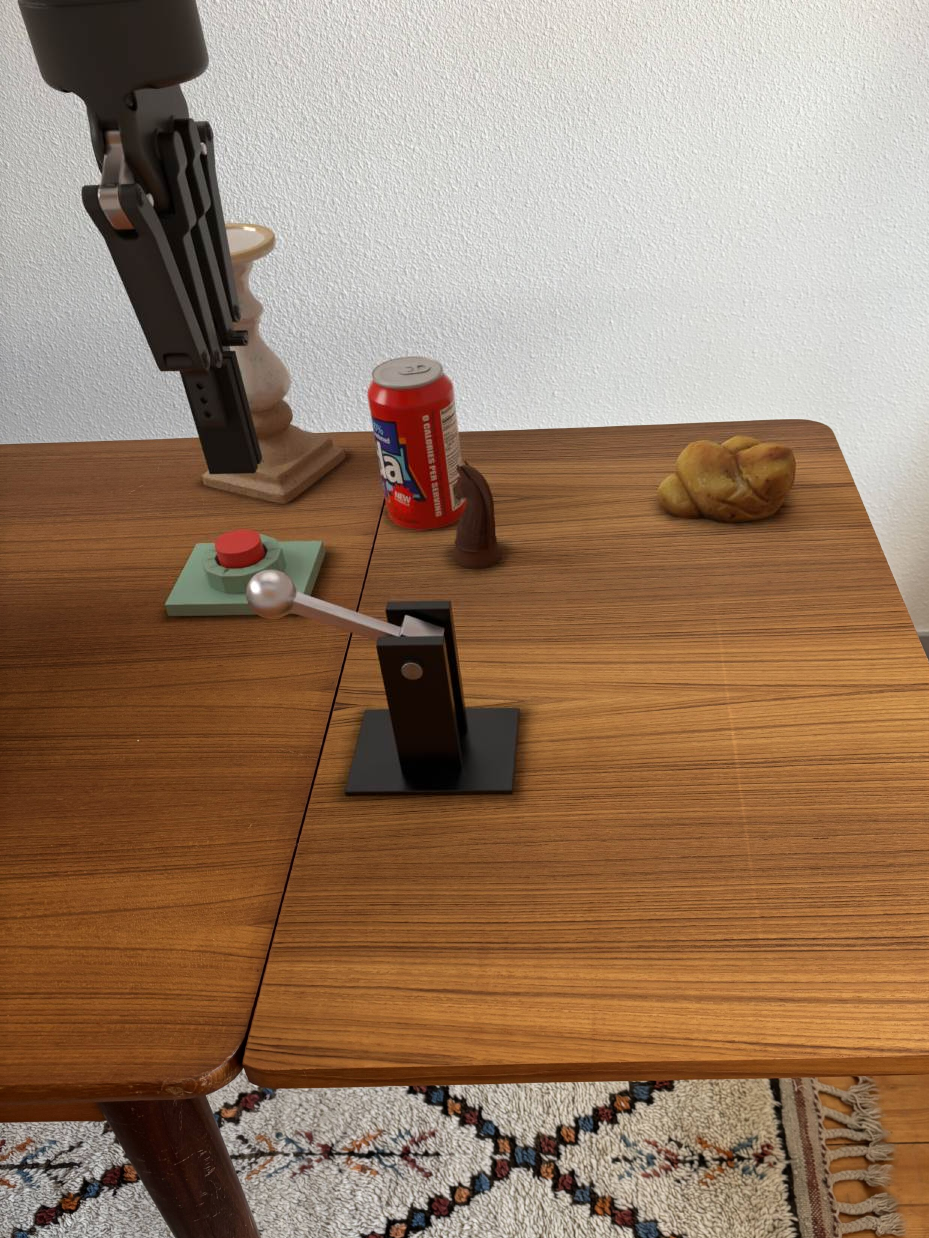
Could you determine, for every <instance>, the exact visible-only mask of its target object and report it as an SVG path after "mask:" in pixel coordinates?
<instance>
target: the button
mask: <svg viewBox="0 0 929 1238" xmlns="http://www.w3.org/2000/svg"><path fill="white" fill-rule="evenodd" d="M259 534H260V533H258V532H257V531H256V530H252V529H245V528H243V529H235V530H230V531H228V532H226V533H224V534H222V535H220V536H219V537H218V538H216V540H215V542H214V543H215V549H216V552H217V556H218V559H219V562H220V564H221V566H222V567H225V568H228V569H242V568H245V567H249V566H252V565H255V564H257V563H258V562H260V561H261V560H263V559H264V557H265V552H264V548H263V544H262V541H261V537H260V535H259Z"/></svg>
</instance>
